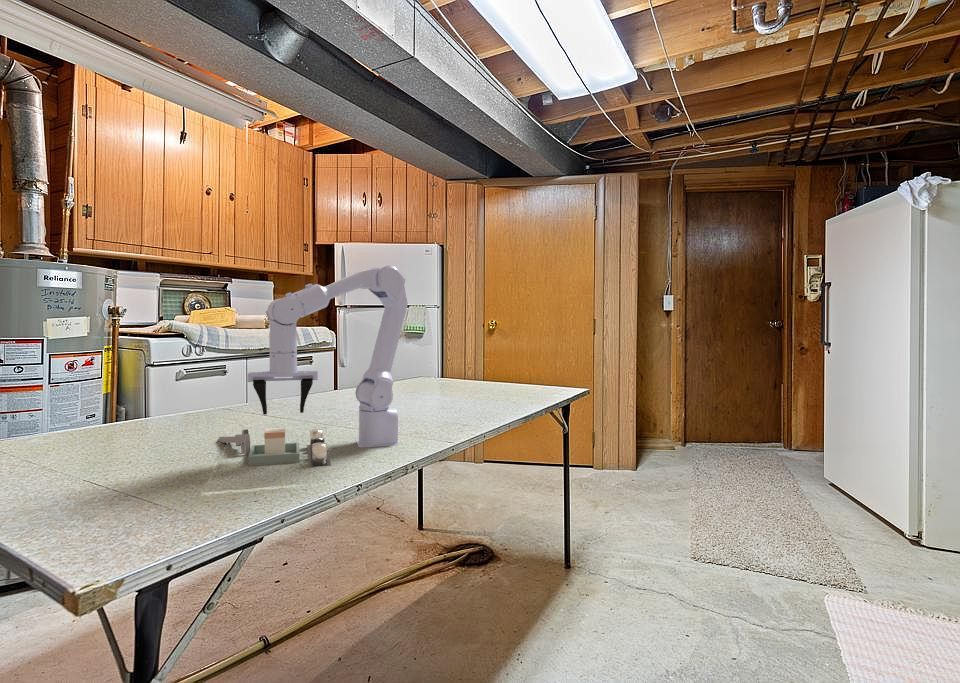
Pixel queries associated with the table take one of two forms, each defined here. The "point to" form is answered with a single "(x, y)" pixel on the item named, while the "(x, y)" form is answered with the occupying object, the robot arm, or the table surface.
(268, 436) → the beige and orange block
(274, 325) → the robot arm
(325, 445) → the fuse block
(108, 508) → the table surface
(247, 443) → the caliper
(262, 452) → the tray
